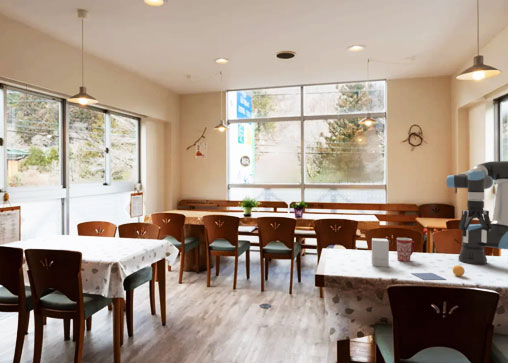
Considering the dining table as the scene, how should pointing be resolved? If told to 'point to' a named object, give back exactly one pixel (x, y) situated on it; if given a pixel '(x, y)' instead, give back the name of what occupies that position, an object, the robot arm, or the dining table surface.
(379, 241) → the supplement box
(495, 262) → the dining table surface
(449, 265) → the dining table surface
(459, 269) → the ball
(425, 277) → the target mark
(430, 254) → the dining table surface
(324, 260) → the dining table surface
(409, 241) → the mug
